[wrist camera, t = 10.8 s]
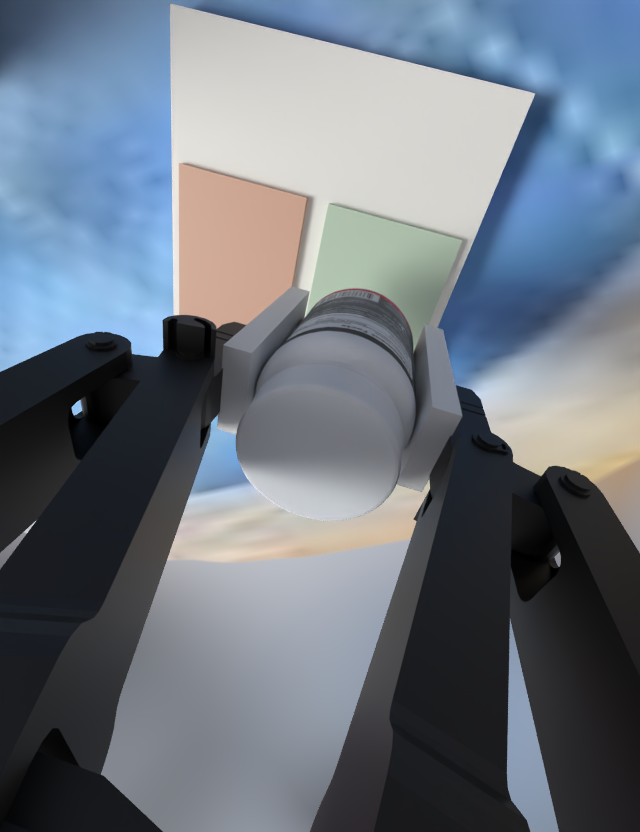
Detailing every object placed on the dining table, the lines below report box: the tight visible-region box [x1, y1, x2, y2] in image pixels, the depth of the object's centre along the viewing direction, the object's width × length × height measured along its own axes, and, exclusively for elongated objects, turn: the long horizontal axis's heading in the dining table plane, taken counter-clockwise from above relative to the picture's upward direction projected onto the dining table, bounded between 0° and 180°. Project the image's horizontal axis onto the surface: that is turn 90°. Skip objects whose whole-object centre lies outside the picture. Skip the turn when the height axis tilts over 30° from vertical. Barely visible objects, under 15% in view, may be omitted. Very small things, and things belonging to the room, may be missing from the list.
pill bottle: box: [236, 288, 416, 521], centre depth 12 cm, size 5×5×8 cm
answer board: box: [170, 3, 535, 352], centre depth 19 cm, size 18×14×1 cm
